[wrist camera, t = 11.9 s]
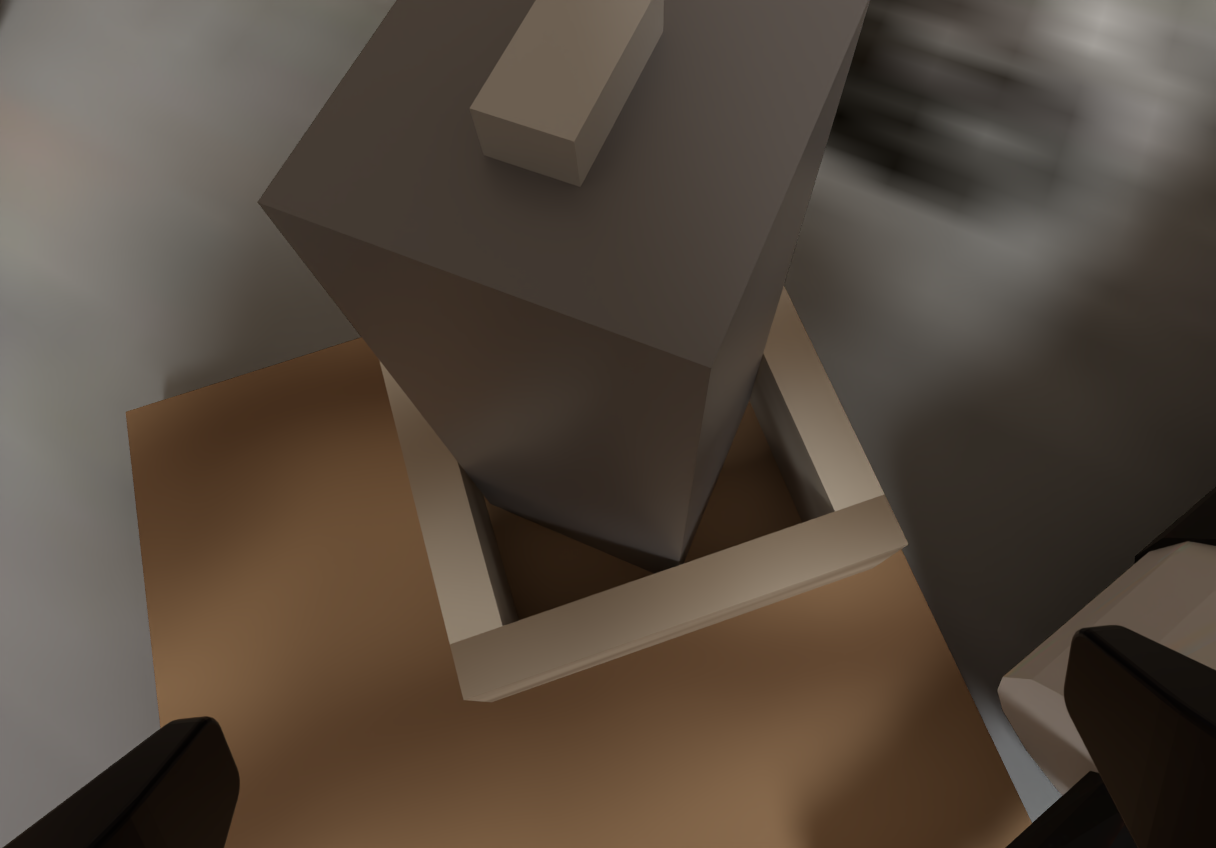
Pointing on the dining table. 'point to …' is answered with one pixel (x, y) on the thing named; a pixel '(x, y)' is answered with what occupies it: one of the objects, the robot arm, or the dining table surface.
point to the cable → (1034, 689)
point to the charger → (573, 235)
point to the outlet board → (547, 635)
